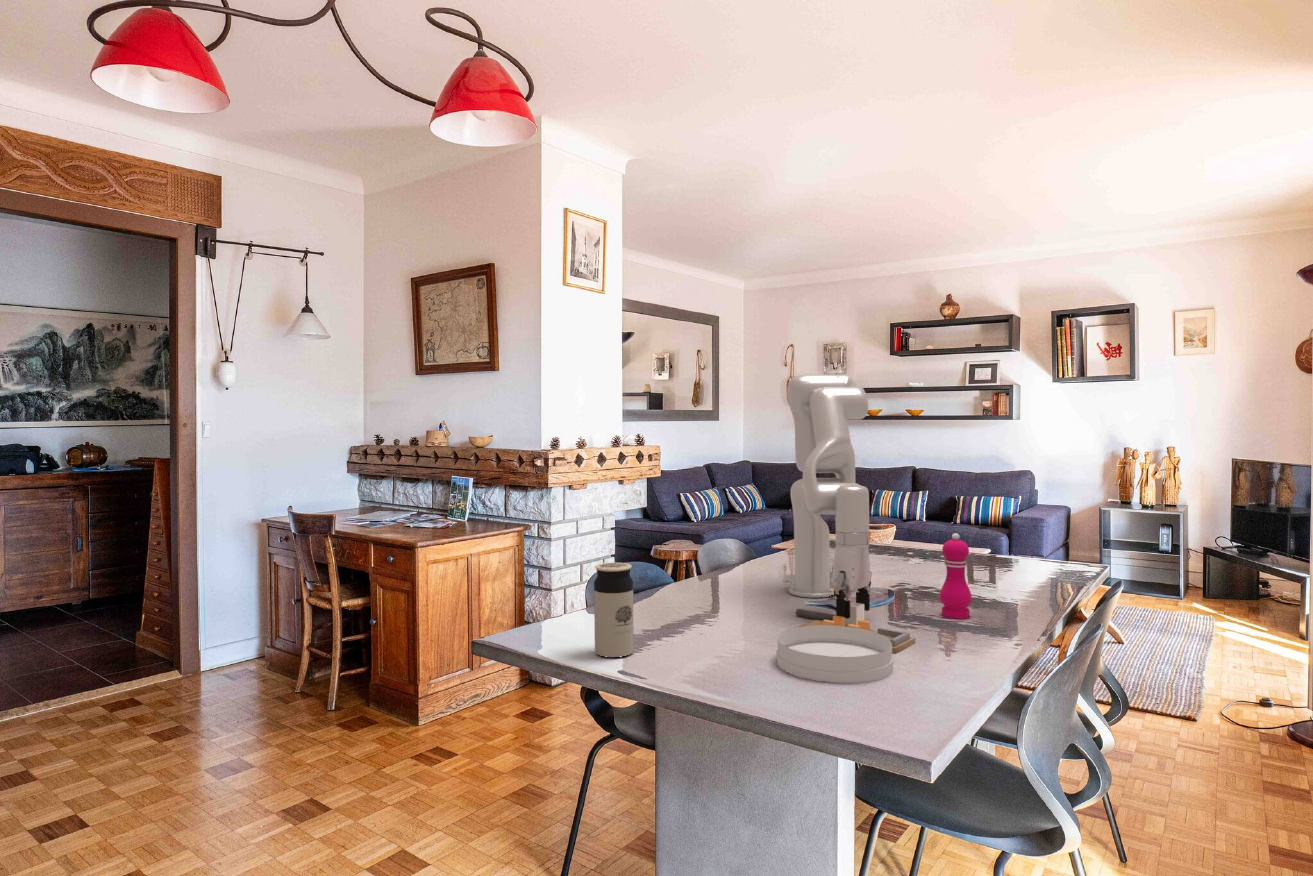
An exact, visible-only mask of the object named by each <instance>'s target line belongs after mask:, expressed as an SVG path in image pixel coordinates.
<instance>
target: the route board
mask: <svg viewBox="0 0 1313 876" xmlns="http://www.w3.org/2000/svg"><path fill="white" fill-rule="evenodd" d="M817 625H823V620H817V619H813V620H810V621H808V622H805V623H803V624H801V625H798V626H795V627H794V628H796V627H804V626H817ZM845 627H848V626H847V625H845ZM870 631H872V632H876V633H878V630H875V629H874V630H873V629H870ZM883 636H885V637H887V638H891V639H893V638H895V637H891V636H886V635H883ZM824 639H825V638H824ZM915 644H916V637H912V636H910V639H908V640H906V641H905V642H903V643H901V644H899V645H897V646H892V654H898V653H900V652H901V651H903V650H905V649H906V648H908V647H910V646H912V645H915ZM870 645H871V644H870Z"/></svg>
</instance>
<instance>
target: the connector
mask: <svg viewBox="0 0 1313 876" xmlns="http://www.w3.org/2000/svg"><path fill="white" fill-rule="evenodd" d="M795 615H796V616H798V617H802V618H808V619H813V620H820V621H823V620H830V621H833V616H836V614H832V613H827V612H820V611H816V610H808V609H804V608H797V609H796V610H795ZM858 620H864V621H865V611H864V604H861V603H856V602H854V601H853V602H852V601H850V618H849V619H847V618H845V625H847V626H848V625H849V624H852V625H858Z"/></svg>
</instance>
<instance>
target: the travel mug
mask: <svg viewBox="0 0 1313 876" xmlns="http://www.w3.org/2000/svg"><path fill="white" fill-rule="evenodd" d="M594 567H595V568H594V569H596V575H597V576H596V577H595V579H594V582H593V588H594V592H593V593H594V595H593V596H594V597H593V598H594V600H593V601H594V602H593V605H594V609H593V610H594V614H593V616H594V618H593V619H594V653H595V654H596V655H597V654H598V655H597V656H599V655H600V656H599V657H601V656H607V657H620V656H626V657H628V656H630V655H632V654H633V653H634V645H635V644H634V643H635V641H634V639H635V638H634V637H635V636H634V635H635V634H634V580H633V578H632V576H631V575H630V574H631V569H632V567H633V566H632V565H631V564H630V563H627V562H603V563H598V564H596V565H595V566H594ZM627 655H628V656H627Z"/></svg>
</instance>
